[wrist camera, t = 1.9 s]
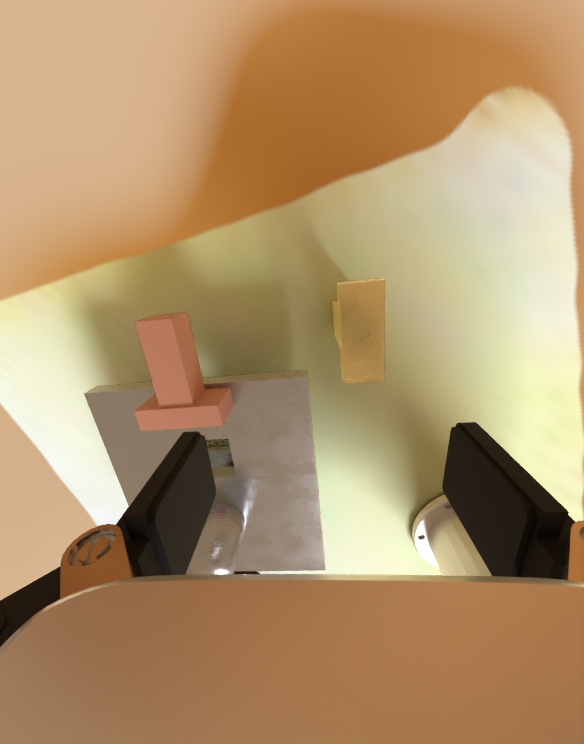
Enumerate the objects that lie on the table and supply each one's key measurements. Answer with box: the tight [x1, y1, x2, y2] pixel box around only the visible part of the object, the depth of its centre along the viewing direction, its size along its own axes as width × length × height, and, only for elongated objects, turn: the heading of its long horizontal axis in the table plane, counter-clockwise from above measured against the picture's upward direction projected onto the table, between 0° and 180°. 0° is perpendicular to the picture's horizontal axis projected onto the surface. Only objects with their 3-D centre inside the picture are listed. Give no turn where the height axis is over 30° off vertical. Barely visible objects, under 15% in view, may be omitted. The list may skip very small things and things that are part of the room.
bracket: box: [134, 312, 233, 431], centre depth 20 cm, size 6×8×3 cm
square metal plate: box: [84, 370, 325, 575], centre depth 27 cm, size 18×21×12 cm
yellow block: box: [332, 278, 385, 384], centre depth 23 cm, size 3×7×8 cm, turn 6°
